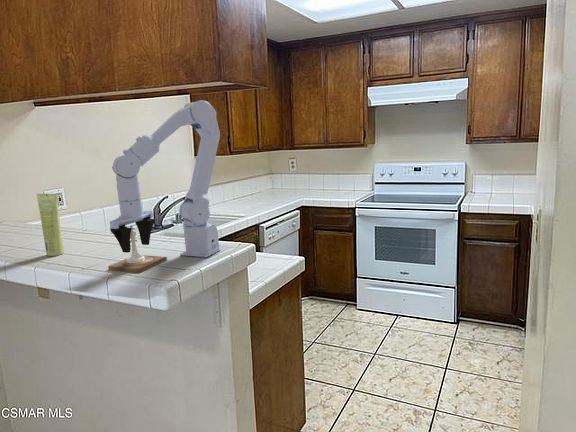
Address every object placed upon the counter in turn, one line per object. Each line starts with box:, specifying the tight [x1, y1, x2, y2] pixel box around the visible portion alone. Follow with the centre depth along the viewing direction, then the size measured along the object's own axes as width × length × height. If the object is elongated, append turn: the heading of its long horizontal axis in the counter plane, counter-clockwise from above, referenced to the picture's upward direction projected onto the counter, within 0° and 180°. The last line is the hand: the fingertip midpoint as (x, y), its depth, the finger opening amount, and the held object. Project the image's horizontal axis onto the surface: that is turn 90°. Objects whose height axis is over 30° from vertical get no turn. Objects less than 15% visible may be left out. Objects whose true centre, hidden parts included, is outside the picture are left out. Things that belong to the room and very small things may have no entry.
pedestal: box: [107, 254, 168, 274], centre depth 122 cm, size 11×11×1 cm
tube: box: [36, 193, 65, 257], centre depth 137 cm, size 6×5×20 cm
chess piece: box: [126, 225, 145, 263], centre depth 122 cm, size 5×5×10 cm
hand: (136, 248), depth 121 cm, fingers open, 7 cm apart
